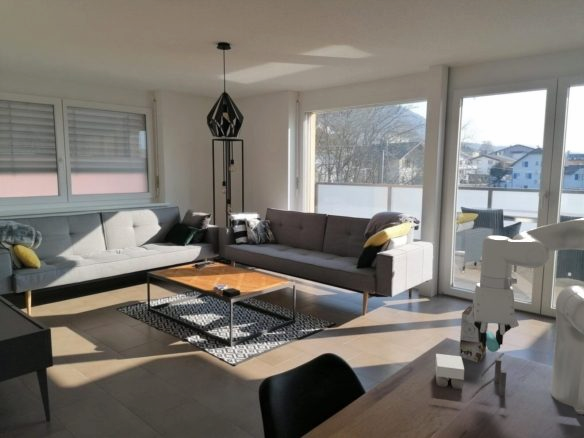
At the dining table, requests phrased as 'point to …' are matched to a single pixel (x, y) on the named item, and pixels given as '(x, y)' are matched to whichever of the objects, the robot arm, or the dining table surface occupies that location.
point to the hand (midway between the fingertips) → (490, 345)
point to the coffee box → (470, 339)
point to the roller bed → (499, 378)
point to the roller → (491, 342)
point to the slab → (449, 366)
